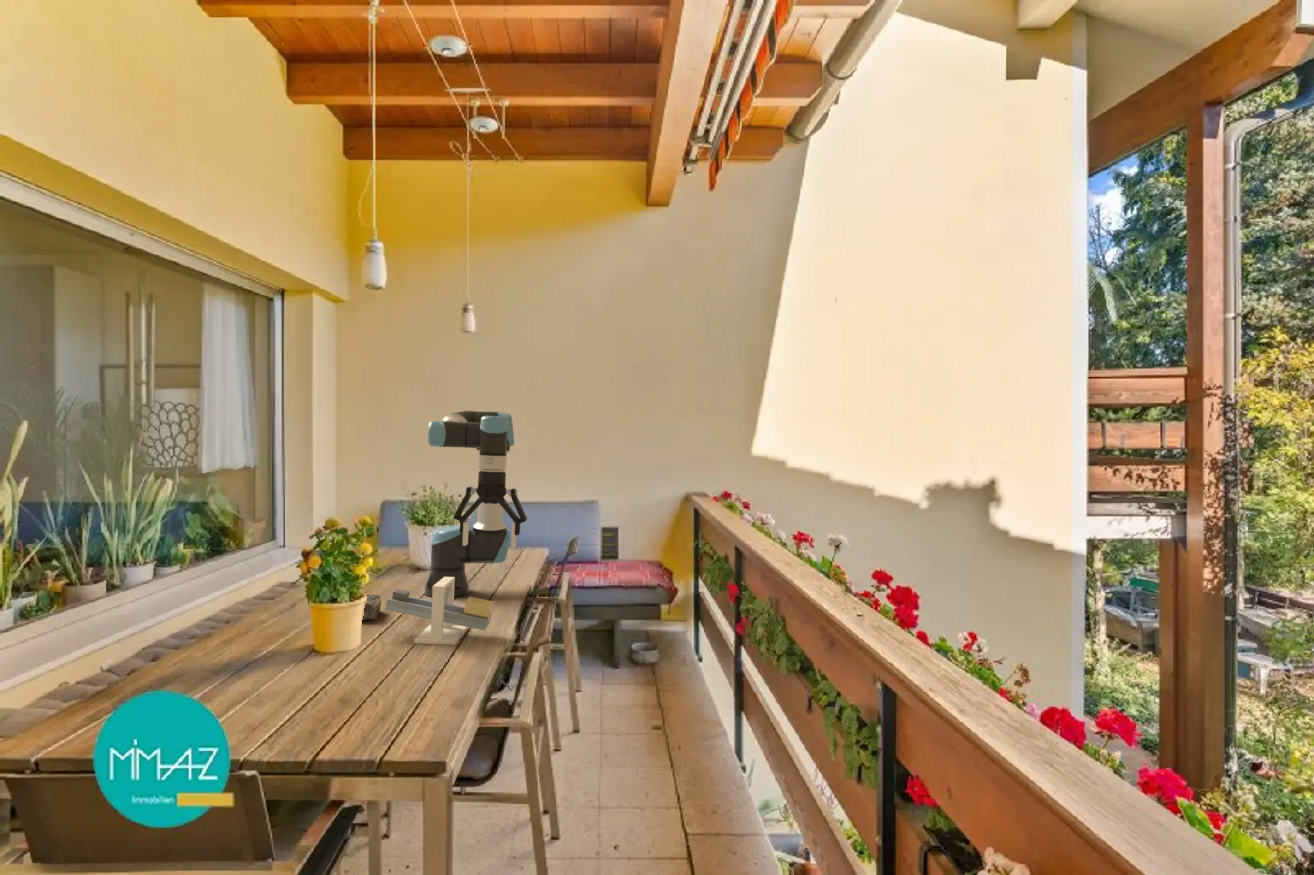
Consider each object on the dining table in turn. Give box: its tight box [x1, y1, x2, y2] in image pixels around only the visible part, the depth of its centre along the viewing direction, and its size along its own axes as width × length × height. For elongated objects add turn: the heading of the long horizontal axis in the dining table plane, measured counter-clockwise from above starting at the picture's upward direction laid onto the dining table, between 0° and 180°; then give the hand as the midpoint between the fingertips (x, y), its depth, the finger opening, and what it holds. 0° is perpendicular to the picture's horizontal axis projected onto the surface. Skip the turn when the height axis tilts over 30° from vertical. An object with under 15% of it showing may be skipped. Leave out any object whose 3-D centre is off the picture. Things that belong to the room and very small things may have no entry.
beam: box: [384, 586, 492, 631], centre depth 194 cm, size 8×28×8 cm, turn 92°
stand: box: [414, 577, 468, 645], centre depth 194 cm, size 14×11×16 cm
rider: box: [463, 596, 494, 623], centre depth 194 cm, size 4×7×6 cm, turn 92°
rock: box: [363, 593, 382, 621], centre depth 209 cm, size 13×6×15 cm
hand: (489, 545), depth 193 cm, fingers open, 13 cm apart
